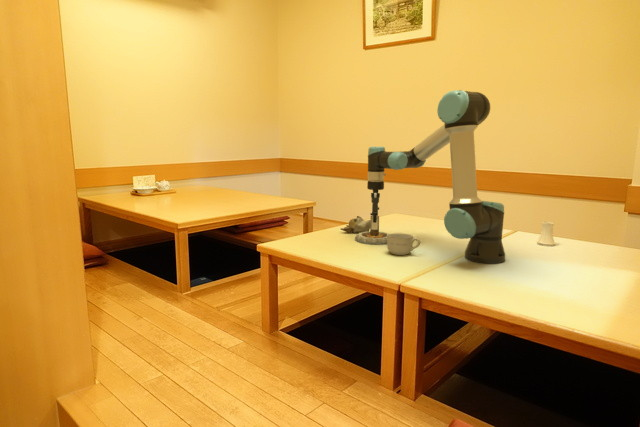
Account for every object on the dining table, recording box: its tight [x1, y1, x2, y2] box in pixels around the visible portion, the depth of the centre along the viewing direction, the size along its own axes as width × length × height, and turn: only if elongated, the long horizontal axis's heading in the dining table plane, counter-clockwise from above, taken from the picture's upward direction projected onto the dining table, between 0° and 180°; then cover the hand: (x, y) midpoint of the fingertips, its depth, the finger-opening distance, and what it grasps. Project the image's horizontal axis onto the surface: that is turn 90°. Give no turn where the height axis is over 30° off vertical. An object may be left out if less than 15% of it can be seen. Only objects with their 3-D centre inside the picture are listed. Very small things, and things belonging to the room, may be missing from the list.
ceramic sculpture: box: [340, 215, 370, 234], centre depth 220 cm, size 11×9×15 cm
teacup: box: [386, 232, 421, 256], centre depth 180 cm, size 14×11×8 cm
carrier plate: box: [354, 231, 389, 246], centre depth 205 cm, size 18×18×2 cm
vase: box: [536, 221, 556, 247], centre depth 197 cm, size 8×8×10 cm
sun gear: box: [365, 215, 384, 238], centre depth 204 cm, size 9×9×10 cm
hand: (374, 226), depth 204 cm, fingers open, 13 cm apart
